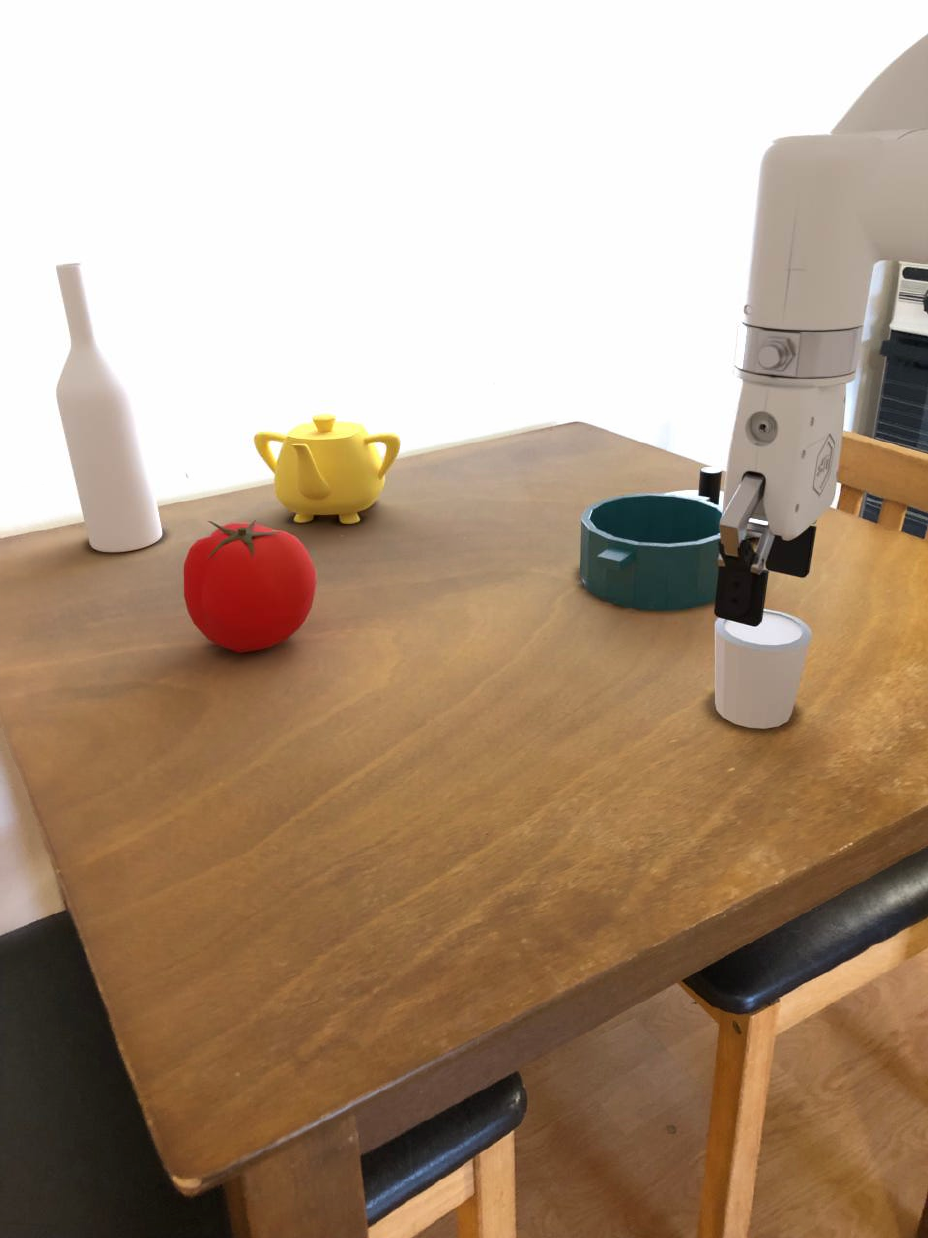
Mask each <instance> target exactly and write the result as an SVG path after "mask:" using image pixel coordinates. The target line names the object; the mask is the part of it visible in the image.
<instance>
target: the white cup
mask: <svg viewBox="0 0 928 1238" xmlns="http://www.w3.org/2000/svg"><path fill="white" fill-rule="evenodd" d="M812 633H813V632H812V631H811V628H810V626H809V625H808V624H807V623H806V622H804V621H803V620H802V619H800V618H798V617H796V616H794V615H792V614H789V613H786V612H783V611H777V610H772V609H768V608H764V611H763V618H762V622H761V623H760V624H759V625H758V626H756V627H753V626H749V625H745V624H741V623H738V622H734V621H730V620H726V619H722V618H719V617H717V619H716V620H715V622H714V698H715V699H714V703H715V704H714V705H715V710H716V712H717V713H718V714H719V716H721V717H722V718H723V719H725V720H727V721H728V722H730V723H732V724H734V725H738V726H741V727H745V728H749V729H762V730H763V729H764V730H765V729H770V728H778V727H780V726H782V725H784V724H785V723H788V721H789V720H790V718H791V716H792V714H793V710H794V707H795V702H796V699H797V696H798V695H797V694H798V692H799V691H798V690H799V687H800V683H801V680H802V676H803V672H804V669H805V664H806V660H807V656H808V653H809V649H810V645H811V642H812V637H813V634H812Z"/></svg>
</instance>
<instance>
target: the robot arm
mask: <svg viewBox="0 0 928 1238" xmlns="http://www.w3.org/2000/svg"><path fill="white" fill-rule="evenodd" d="M754 166H755V167H754V172H753V178H752V179H753V180H752V188H751V189H752V190H751V200H750V210H749V217H748V229H747V237H746V246H745V247H746V248H745V256H744V257H745V258H744V267H743V276H742V286H741V294H740V295H741V296H740V303H739V314H738V321H737V328H736V329H737V331H736V340H735V349H734V357H733V368H732V374H733V376H734V377H736V378H739V379H740V380H741V384H740V389H739V393H738V399H737V403H736V408H735V415H734V420H733V425H732V431H731V435H730V436H731V437H730V443H729V449H728V455H727V462H726V469H725V477H724V483H723V484H724V485H723V486H724V487H723V492H724V494H723V511H722V517H721V519H720V524H719V529H720V537H721V540H720V541H719V543H718V545H719V547H718V548H719V552H720V554H719V557H718V565H719V571H718V580H717V589H716V598H715V601H714V608H713V609H714V610H713V613H714V615H715V617H716V618H722V619H726V620H730V621H734V622H738V623H741V624H745V625H749V626H753V627H756V626H758V625H759V624H760V623H761V622H762V618H763V611H764V609H765V602H766V596H767V588H768V583H769V582H768V581H769V574H770V572H774V573H778V574H779V573H780V574H783V575H786V576H792V577H796V578H800V579H803V578H806V577H807V576H808V575H809V574H810V571H811V565H812V560H813V551H814V545H815V540H816V533H817V526H816V524H817V521H818V520H819V519H820V518H821V517H822V516H823V515H824V514H825V513H826V512H827V511H828V510H829V509H830V508H831V506H832V505H833V503H834V500H835V498H836V492H837V483H838V476H839V468H840V459H841V450H842V444H843V443H842V442H843V433H844V425H845V415H846V414H845V413H846V400H847V384H849V383H852V382H853V381H855V380H856V376H857V370H858V363H859V356H860V352H861V345H862V339H863V334H864V327H865V325H864V324H865V321H866V313H867V308H868V301H869V296H870V289H871V284H872V278H873V272H874V266H875V265H876V264H877V263H878V262H882V261H893V262H894V261H895V262H902V263H908V264H909V263H910V264H917V265H918V264H920V265H928V33H926V35H924V36H922V37H921V38H920V39H918V40H917V41H916V42H915V43H913V44H912V45H911V46H910V47H908V48H907V49H905V50H904V51H903V52H902V53H901V54H900V55H899V56H897V57H896V58H895V59H894V60H893V61H891V63H889V64H888V65H887V66H886V67H885V68H884V69H883V70H882V71H881V72H880V73H879V74H878V75H877V76H876V77H875V78H874V79H873V80H872V81H871V82H870V83H869V84H868V85H867V87H865V89H864V90H863V91H862V92H861V93H860V95H859V96H858V97H857V98H856V99H855V100H854V101H853V102H852V103H851V105H850V107H848V109H847V110H846V111H845V112H844V114H842V116H841V118H840V119H839V120H838V121H837V122H836V123H835V125H834V126H832V128H831V130H829V132H828V134H826V133H825V134H822V133H821V134H802V135H788V136H783V137H779V138H777V139H772V141H769V142H768V143H767V144H766V145H765V146H764V147H763V148H762V150H761V151H760V152H759V155H758V156H757V159H756V162H755V165H754ZM750 518H751V519H756V520H761V521H767V522H768V525H764V524H759V523H753V522H749V520H750ZM746 535H748V536H753V538H758V539H759V540H758V543H757V546H756V549H754V547H753V544H752V541H751V540H749V539H745V537H746ZM764 568H765V569H764Z"/></svg>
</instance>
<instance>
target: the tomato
mask: <svg viewBox="0 0 928 1238" xmlns="http://www.w3.org/2000/svg"><path fill="white" fill-rule="evenodd" d="M256 521H257V519H255V520H253V522H250V523H249V522H230V523H227V524H225V525H222V526H221V525H220V524H217V523H215V522H213V521H212V520H211V521H210V520H207V522H208V523H210V524H211V525H213V526H214V527H216V528H217V529H215V530H214V531H212V532H211V534H210V535H209V536H207V537H203V538H200V539H197V540H196V541H195V542H194V543H193V544H192V545H191V547H190V548H189V549H188V552H187V555H186V558H185V560H184V562H183V598H184V602H185V605H186V609H187V613H188V615H189V617H190V619H191V621H192V623H193V624H194V626H195V627H196V628H197V629H198V630H199V631H200V632H201V634H202V635H203V636H204V637H205V638H206V639H207V640H208V641H210V642H212V643H213V644H215V645H217V646H219V647H222V648H225V649H227V650H230V651H233V652H236V653H239V654H240V653H241V654H242V653H249V652H254V651H259V650H265V649H269V648H271V647H273V646H276V645H278V644H280V643H283V642H285V641H286V640H287V639H289V638H290V637H291V636H293V634H294V633H296V632H297V631H298V630H299V629H300V628H301V627H302V625H303V624H304V622H306V620H307V618H308V615H309V614H310V612H311V609H312V608H313V603H314V599H315V594H316V587H317V575H316V569H315V564H314V563H313V560H312V558H311V556H310V554H309V552H308V550H307V548H306V547H305V545H304V544H303V543H302V541H300V539H299V538H298V537H297V536H296V535H293V534H291V533H289V532H287V531H286V530H282V529H281V530H278V529H277V530H274V529H273V528H271V527H268V526H264V525H260V524H256Z"/></svg>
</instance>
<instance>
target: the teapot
mask: <svg viewBox="0 0 928 1238" xmlns="http://www.w3.org/2000/svg"><path fill="white" fill-rule="evenodd" d="M311 419H312V422H305V423H301V424H298V425H296V426H294V427H293V428H292V429H290V430H289V431H288V433H287V434H284V433H280V432H275V431H266V430H262V431H259V432H257V433H256V434H255V435H254V437H253V443H254V446H255V449H256V451H257V453H258V455H259V456H260V458H261V459H262V460H263V462H264V463H265V464H266V465H267V467H268V468H269V469H270V470H271V472H272V473H273V474H274V476H273V477H274V479H273V480H274V481H273V488H274V495H275V497H276V499H277V500H278V501H279V503H280V504H281V505H282V506H283V507H284V508H285V509H286V510H288V511H289V512H293V513H296V514H295V516H294V518H293V521H294V522H295V523H308V522H312V521H313V520H314V517H315V516H318V515H319V516H331V515H332V516H333V515H338V518H339V522H340V523H342V524H347V525H348V524H349V525H351V524H355V523H358V522H360V520H361V518H360V516H359V514H358V512H363V511H365V510H367V509H368V508H370V507H371V506H373V505H374V503H376V501H377V499H378V498H379V496H380V495H381V493H382V491H383V489H384V488H385V483H386V474H387V472H388V471H389V470H390V469H391V467H392V465H393V464H394V462H395V461H396V459H397V457H398V455H399V452H400V450H401V438H400V437H399V435H397V434H395V433H392V432H382V433H375V434H369V432H368V431H367V430H366V428H365V427H364V426H363V425H362V424H361V423H359V422H354V421H353V422H351V421H336V415H334V414H331V413H322V414H317V415H314V416H313V417H312V418H311ZM270 442H277V443H282V444H281V448H280V450H279V454H278V457H277V458H276V457H275V455H274V453H273V451H272V449H271V447H270ZM375 443H382V444H384V445H385V453H384V457H383V460H382V458H381V455H380V451H378V449H377V447H376V444H375Z"/></svg>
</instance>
